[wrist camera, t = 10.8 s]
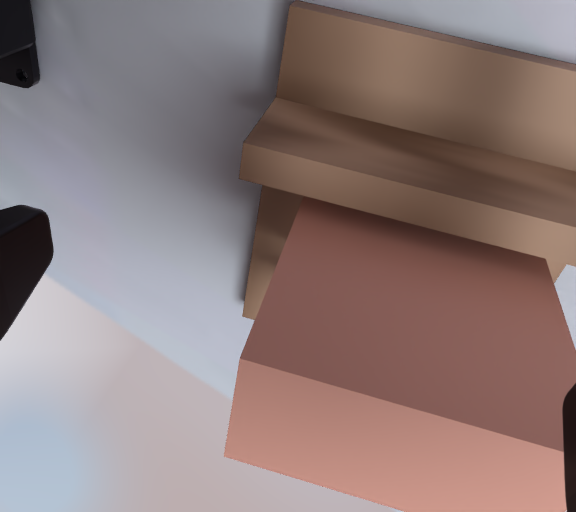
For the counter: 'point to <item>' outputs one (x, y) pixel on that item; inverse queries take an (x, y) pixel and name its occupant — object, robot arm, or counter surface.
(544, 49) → the counter surface
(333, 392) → the pink rectangular block
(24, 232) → the robot arm
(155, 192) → the counter surface
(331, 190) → the book rack
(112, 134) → the counter surface
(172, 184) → the counter surface
